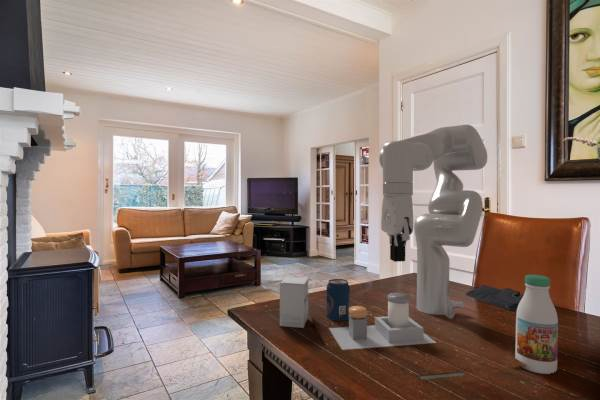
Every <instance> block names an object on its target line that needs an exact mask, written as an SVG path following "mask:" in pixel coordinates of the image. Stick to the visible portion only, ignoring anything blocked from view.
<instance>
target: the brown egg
mask: <svg viewBox="0 0 600 400" xmlns="http://www.w3.org/2000/svg"><path fill="white" fill-rule="evenodd" d="M367 312H368V311H367V308H366V307H364V306H361V305H353V306H350V308H349V315H350V316H351V317H354V318H355V319H361V318H364V317H365V318H366V317H367Z"/></svg>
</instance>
